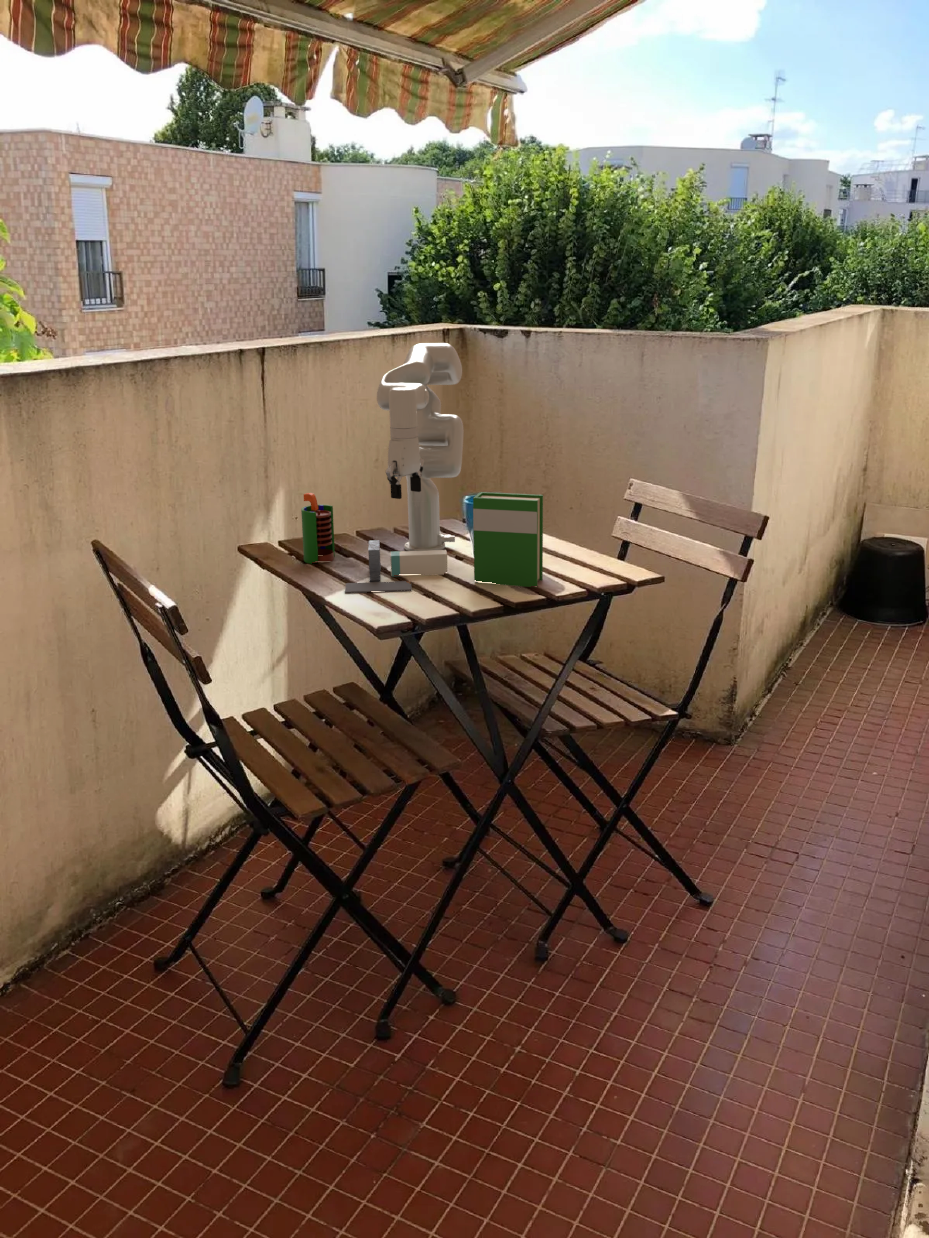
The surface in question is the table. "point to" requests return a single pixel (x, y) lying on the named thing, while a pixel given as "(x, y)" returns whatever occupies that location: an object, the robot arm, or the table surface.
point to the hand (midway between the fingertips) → (406, 494)
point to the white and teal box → (419, 562)
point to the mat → (377, 587)
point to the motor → (317, 531)
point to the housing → (374, 560)
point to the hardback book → (508, 538)
